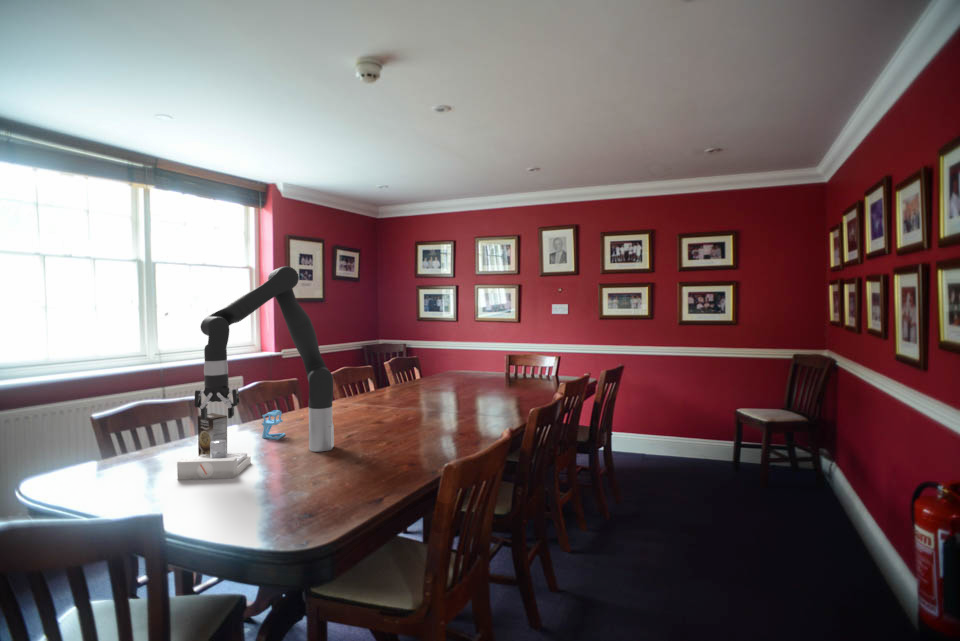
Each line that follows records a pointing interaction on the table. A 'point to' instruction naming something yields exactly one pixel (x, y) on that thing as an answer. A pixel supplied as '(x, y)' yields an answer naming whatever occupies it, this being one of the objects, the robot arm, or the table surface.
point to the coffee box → (211, 431)
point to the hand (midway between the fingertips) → (217, 418)
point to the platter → (238, 455)
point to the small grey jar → (218, 449)
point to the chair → (270, 423)
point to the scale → (210, 468)
